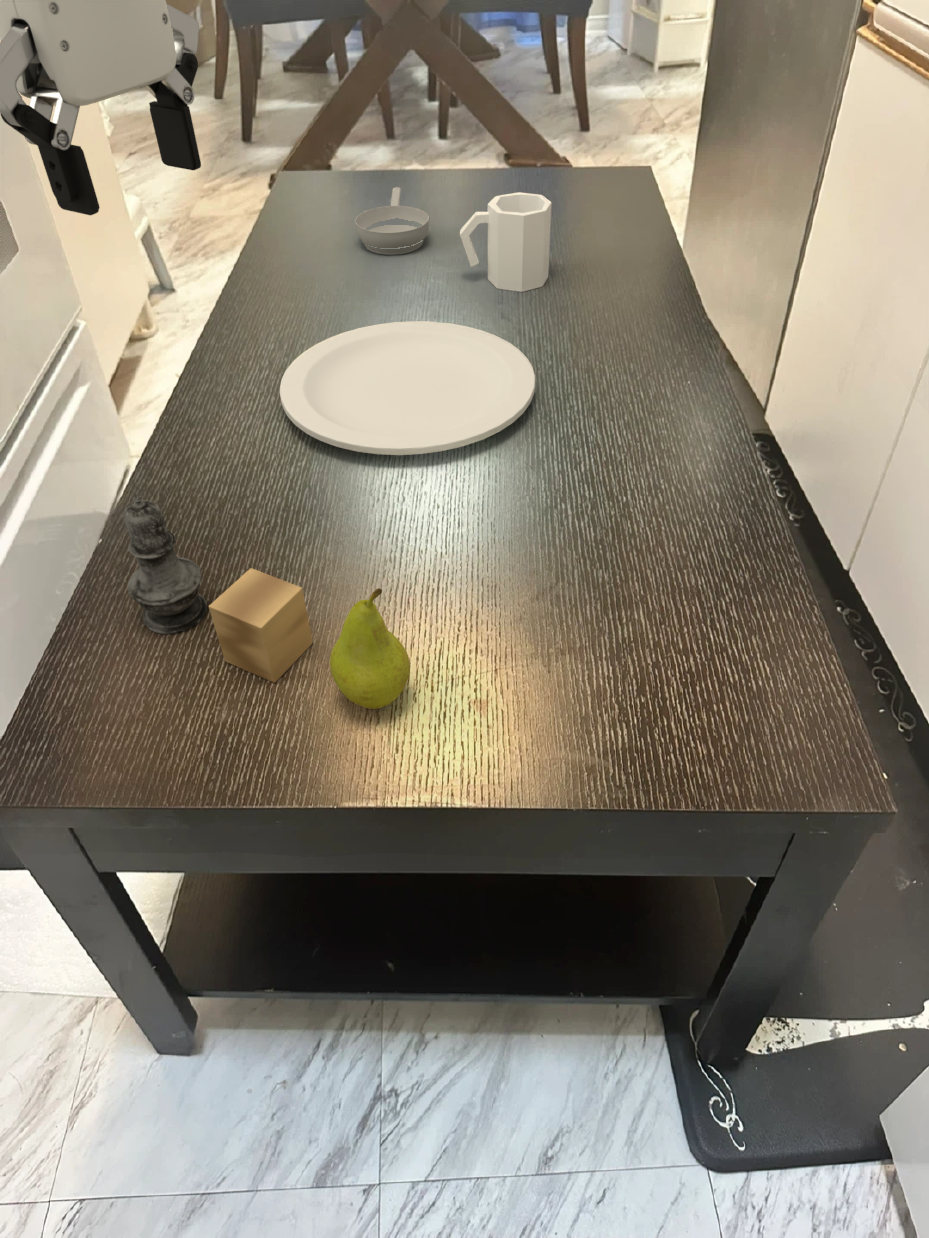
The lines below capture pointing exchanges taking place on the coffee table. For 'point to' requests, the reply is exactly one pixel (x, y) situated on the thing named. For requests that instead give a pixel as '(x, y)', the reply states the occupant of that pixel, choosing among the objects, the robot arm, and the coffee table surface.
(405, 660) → the fruit
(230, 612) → the maple block
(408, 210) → the small pan
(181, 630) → the grey chess bishop
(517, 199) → the mug
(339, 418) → the plate
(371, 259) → the coffee table surface
